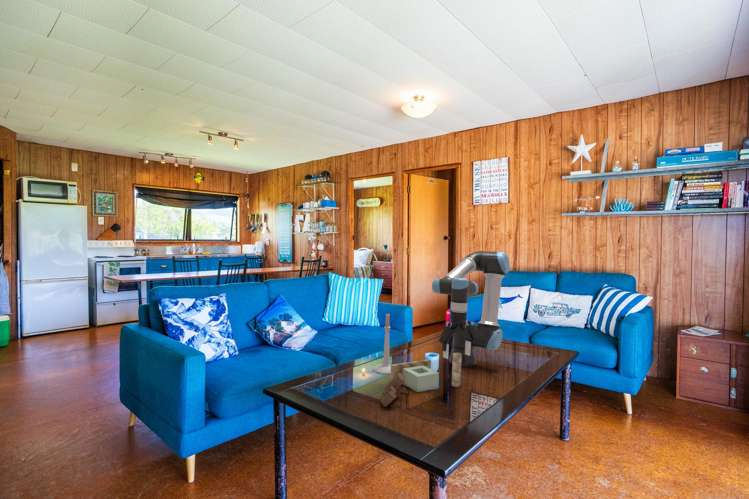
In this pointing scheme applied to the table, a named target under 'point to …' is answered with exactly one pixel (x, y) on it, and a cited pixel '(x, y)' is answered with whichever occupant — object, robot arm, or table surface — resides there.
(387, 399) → the wooden block set
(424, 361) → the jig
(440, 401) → the table surface
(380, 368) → the candlestick
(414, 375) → the sliding block
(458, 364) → the dowel
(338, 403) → the table surface
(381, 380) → the table surface
